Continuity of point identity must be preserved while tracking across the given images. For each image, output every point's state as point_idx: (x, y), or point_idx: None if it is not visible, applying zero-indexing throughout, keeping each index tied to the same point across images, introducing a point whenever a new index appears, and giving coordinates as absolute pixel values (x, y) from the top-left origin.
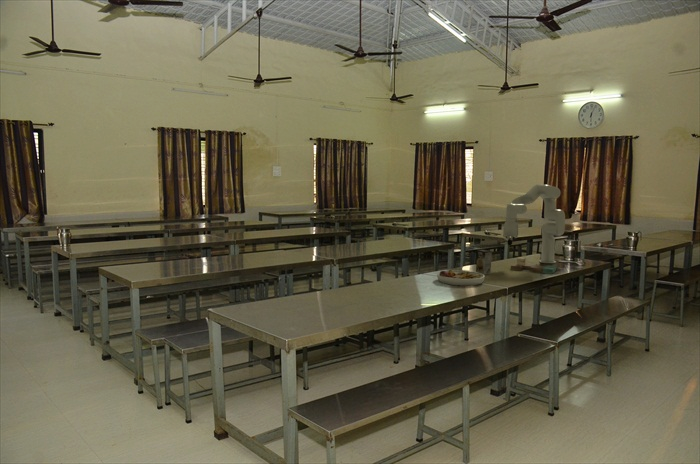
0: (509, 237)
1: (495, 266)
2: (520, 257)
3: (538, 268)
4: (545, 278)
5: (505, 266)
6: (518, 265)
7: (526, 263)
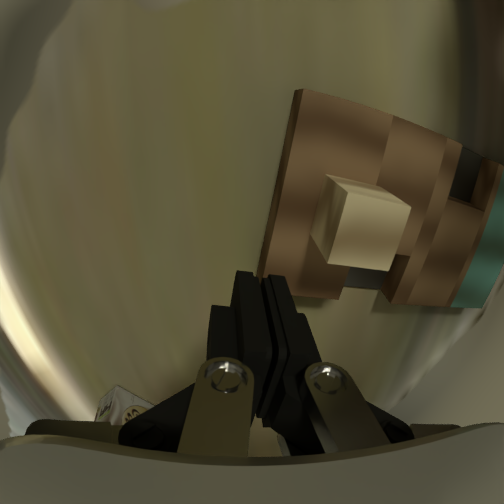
0: (246, 434)
1: (123, 176)
2: (366, 202)
3: (431, 305)
4: (401, 399)
5: (203, 134)
6: (322, 259)
7: (394, 124)
